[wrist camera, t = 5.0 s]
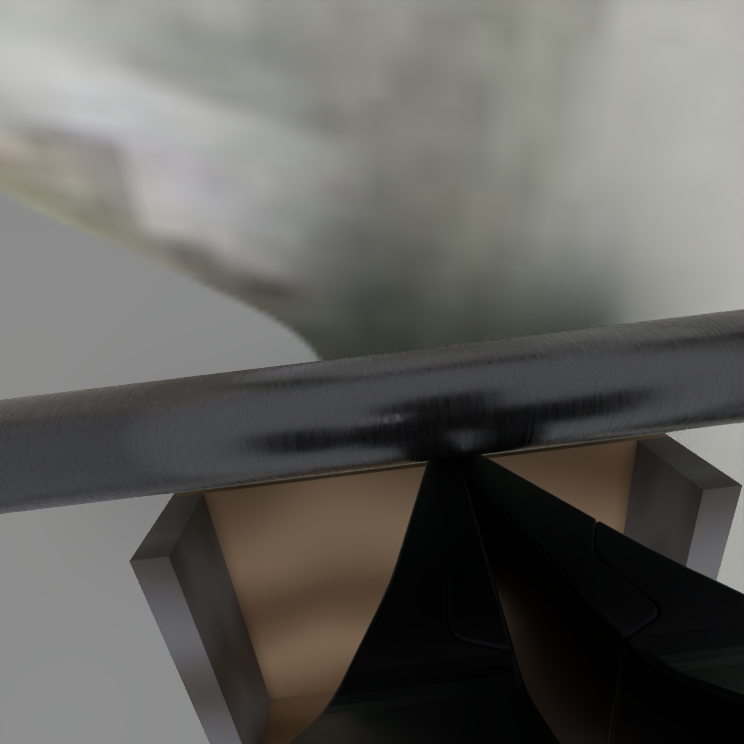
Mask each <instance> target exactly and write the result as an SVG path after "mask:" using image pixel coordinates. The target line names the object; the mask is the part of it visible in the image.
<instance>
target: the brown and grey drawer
mask: <svg viewBox="0 0 744 744" xmlns="http://www.w3.org/2000/svg"><path fill="white" fill-rule="evenodd" d="M484 456H485V457H487V458H489V459H491V460H492V461H494V462H496V463H498V464H499V465H501V466H503V467H505V468H507V469H508V470H510V471H512V472H514V473H515V474H517V475H519V476H521V477H522V478H524V479H526V480H528V481H530V482H531V483H533V484H535V485H537V486H538V487H540V488H542V489H544V490H546V491H547V492H549V493H551V494H553V495H554V496H556V497H558V498H560V499H561V500H563V501H565V502H567V503H569V504H570V505H572V506H574V507H576V508H577V509H579V510H581V511H583V512H585V513H586V514H588V515H590V516H592V517H593V518H595V519H596V520H597V522H598V521H601V522H602V523H604V524H606V525H608V526H610V527H611V528H613V529H615V530H617V531H618V532H620V533H622V534H624V535H626V536H628V537H630V538H631V539H633V540H635V541H637V542H639V543H641V544H643V545H644V546H646V547H648V548H650V549H652V550H654V551H656V552H658V553H660V554H662V555H664V556H666V557H668V558H670V559H672V560H674V561H676V562H678V563H680V564H682V565H684V566H686V567H688V568H690V569H692V570H694V571H697V572H699V573H701V574H703V575H705V576H707V577H709V578H711V579H713V580H715V581H716V579H717V576H718V572H719V568H720V565H721V561H722V557H723V554H724V550H725V546H726V543H727V539H728V535H729V532H730V528H731V524H732V521H733V517H734V513H735V510H736V506H737V502H738V499H739V495H740V491H741V488H742V485H741V484H739V483H738V482H736V481H735V480H733V479H732V478H730V477H729V476H727V475H726V474H724V473H723V472H721V471H720V470H718V469H717V468H715V467H714V466H712V465H711V464H709V463H708V462H706V461H705V460H703V459H702V458H701V457H699V456H698V455H696V454H695V453H693V452H692V451H690V450H689V449H687V448H686V447H684V446H683V445H681V444H680V443H678V442H677V441H675V440H674V439H672V438H671V437H669V436H668V435H666V434H665V433H659V434H651V435H643V436H635V437H627V438H619V439H611V440H603V441H595V442H586V443H578V444H570V445H562V446H554V447H546V448H538V449H530V450H521V451H513V452H505V453H497V454H489V455H484ZM426 463H427V462H424V463H416V464H408V465H400V466H392V467H383V468H375V469H367V470H359V471H351V472H343V473H335V474H327V475H319V476H310V477H302V478H294V479H286V480H278V481H270V482H262V483H254V484H245V485H237V486H229V487H221V488H213V489H205V490H197V491H189V492H181V493H174V495H173V496H172V498H171V499H170V501H169V502H168V504H167V505H166V507H165V508H164V510H163V512H162V513H161V514H160V516H159V518H158V519H157V521H156V523H155V524H154V525H153V527H152V528H151V530H150V531H149V533H148V534H147V536H146V537H145V539H144V540H143V542H142V543H141V545H140V546H139V548H138V549H137V551H136V552H135V554H134V556H133V557H132V558H131V560H130V563H131V565H132V568H133V570H134V572H135V574H136V577H137V579H138V581H139V584H140V586H141V588H142V590H143V593H144V595H145V597H146V599H147V602H148V604H149V606H150V609H151V611H152V613H153V615H154V618H155V620H156V622H157V624H158V627H159V629H160V631H161V633H162V636H163V638H164V640H165V642H166V645H167V647H168V649H169V652H170V654H171V656H172V658H173V661H174V663H175V665H176V668H177V670H178V672H179V674H180V676H181V679H182V681H183V683H184V686H185V688H186V690H187V692H188V695H189V697H190V699H191V701H192V704H193V706H194V708H195V711H196V713H197V715H198V717H199V720H200V722H201V724H202V726H203V728H204V731H205V733H206V736H207V738H208V740H209V742H210V744H287V743H288V742H289V741H290V740H291V739H292V738H294V737H295V736H296V735H297V734H298V733H300V732H301V731H302V730H303V729H304V728H305V727H307V726H308V725H309V724H310V723H311V722H312V721H314V720H315V719H316V718H317V717H318V715H319V714H320V713H321V712H322V711H323V710H324V708H325V707H326V706H327V704H328V703H329V701H330V700H331V698H332V697H333V695H334V694H335V692H336V690H337V689H338V687H339V685H340V683H341V681H342V679H343V677H344V675H345V673H346V671H347V669H348V667H349V665H350V663H351V661H352V659H353V657H354V655H355V653H356V651H357V649H358V647H359V645H360V643H361V641H362V639H363V637H364V635H365V633H366V631H367V629H368V627H369V625H370V623H371V621H372V618H373V616H374V614H375V612H376V610H377V608H378V606H379V604H380V602H381V599H382V597H383V595H384V593H385V591H386V588H387V586H388V584H389V581H390V578H391V576H392V573H393V570H394V567H395V564H396V562H397V558H398V555H399V552H400V549H401V546H402V543H403V539H404V536H405V533H406V529H407V526H408V523H409V520H410V516H411V513H412V510H413V506H414V503H415V500H416V496H417V493H418V490H419V487H420V483H421V480H422V477H423V473H424V470H425V467H426Z"/></svg>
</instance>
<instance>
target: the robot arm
mask: <svg viewBox="0 0 744 744" xmlns="http://www.w3.org/2000/svg"><path fill="white" fill-rule="evenodd" d="M287 744H744V594H743V593H741V592H738V591H736V590H734V589H732V588H730V587H728V586H726V585H724V584H722V583H720V582H718V581H715V580H713V579H711V578H709V577H707V576H705V575H703V574H701V573H699V572H697V571H694V570H692V569H690V568H688V567H686V566H684V565H682V564H680V563H678V562H676V561H674V560H672V559H670V558H668V557H666V556H664V555H662V554H660V553H658V552H656V551H654V550H652V549H650V548H648V547H646V546H644V545H643V544H641V543H639V542H637V541H635V540H633V539H631V538H630V537H628V536H626V535H624V534H622V533H620V532H618V531H617V530H615V529H613V528H611V527H610V526H608V525H606V524H604V523H602V522H601V521H598V522H597V520H596V519H595V518H593V517H592V516H590V515H588V514H586V513H585V512H583V511H581V510H579V509H577V508H576V507H574V506H572V505H570V504H569V503H567V502H565V501H563V500H561V499H560V498H558V497H556V496H554V495H553V494H551V493H549V492H547V491H546V490H544V489H542V488H540V487H538V486H537V485H535V484H533V483H531V482H530V481H528V480H526V479H524V478H522V477H521V476H519V475H517V474H515V473H514V472H512V471H510V470H508V469H507V468H505V467H503V466H501V465H499V464H498V463H496V462H494V461H492V460H491V459H489V458H487V457H485V456H484V455H474V456H465V457H457V458H449V459H441V460H433V461H427V463H426V467H425V470H424V473H423V477H422V480H421V483H420V487H419V490H418V493H417V496H416V500H415V503H414V506H413V510H412V513H411V516H410V520H409V523H408V526H407V529H406V533H405V536H404V539H403V543H402V546H401V549H400V552H399V555H398V558H397V562H396V564H395V567H394V570H393V573H392V576H391V578H390V581H389V584H388V586H387V588H386V591H385V593H384V595H383V597H382V599H381V602H380V604H379V606H378V608H377V610H376V612H375V614H374V616H373V618H372V621H371V623H370V625H369V627H368V629H367V631H366V633H365V635H364V637H363V639H362V641H361V643H360V645H359V647H358V649H357V651H356V653H355V655H354V657H353V659H352V661H351V663H350V665H349V667H348V669H347V671H346V673H345V675H344V677H343V679H342V681H341V683H340V685H339V687H338V689H337V690H336V692H335V694H334V695H333V697H332V698H331V700H330V701H329V703H328V704H327V706H326V707H325V708H324V710H323V711H322V712H321V713H320V714H319V715H318V717H317V718H316V719H315V720H314V721H312V722H311V723H310V724H309V725H308V726H307V727H305V728H304V729H303V730H302V731H301V732H300V733H298V734H297V735H296V736H295V737H294V738H292V739H291V740H290V741H289V742H288V743H287Z"/></svg>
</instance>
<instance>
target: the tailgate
mask: <svg viewBox="0 0 744 744" xmlns="http://www.w3.org/2000/svg"><path fill="white" fill-rule="evenodd" d="M742 422H744V309H742V310H734V311H726V312H717V313H709V314H701V315H693V316H685V317H676V318H668V319H660V320H652V321H644V322H635V323H627V324H619V325H611V326H603V327H594V328H586V329H578V330H570V331H562V332H554V333H545V334H537V335H529V336H521V337H513V338H504V339H496V340H488V341H480V342H472V343H463V344H455V345H447V346H439V347H431V348H422V349H414V350H406V351H398V352H390V353H382V354H373V355H365V356H357V357H349V358H341V359H332V360H324V361H316V362H308V363H300V364H291V365H283V366H276V367H267V368H259V369H251V370H242V371H234V372H226V373H218V374H210V375H203V376H202V375H201V376H193V377H185V378H178V379H169V380H161V381H152V382H144V383H136V384H128V385H119V386H112V387H103V388H95V389H87V390H79V391H70V392H63V393H55V394H46V395H38V396H30V397H21V398H13V399H5V400H0V514H3V513H10V512H19V511H26V510H35V509H43V508H51V507H60V506H67V505H76V504H84V503H92V502H100V501H108V500H116V499H125V498H133V497H141V496H149V495H157V494H169V493H181V492H189V491H197V490H205V489H213V488H221V487H229V486H237V485H245V484H254V483H262V482H270V481H278V480H286V479H294V478H302V477H310V476H319V475H327V474H335V473H343V472H351V471H359V470H367V469H375V468H383V467H392V466H400V465H408V464H416V463H424V462H427V461H433V460H441V459H449V458H457V457H465V456H474V455H489V454H497V453H505V452H513V451H521V450H530V449H538V448H546V447H554V446H562V445H570V444H578V443H586V442H595V441H603V440H611V439H619V438H627V437H635V436H643V435H651V434H659V433H667V432H673V431H680V430H686V429H693V428H701V427H709V426H717V425H725V424H733V423H742Z"/></svg>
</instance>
